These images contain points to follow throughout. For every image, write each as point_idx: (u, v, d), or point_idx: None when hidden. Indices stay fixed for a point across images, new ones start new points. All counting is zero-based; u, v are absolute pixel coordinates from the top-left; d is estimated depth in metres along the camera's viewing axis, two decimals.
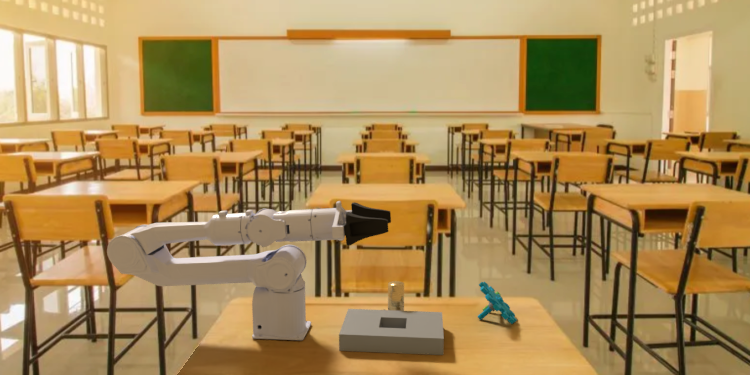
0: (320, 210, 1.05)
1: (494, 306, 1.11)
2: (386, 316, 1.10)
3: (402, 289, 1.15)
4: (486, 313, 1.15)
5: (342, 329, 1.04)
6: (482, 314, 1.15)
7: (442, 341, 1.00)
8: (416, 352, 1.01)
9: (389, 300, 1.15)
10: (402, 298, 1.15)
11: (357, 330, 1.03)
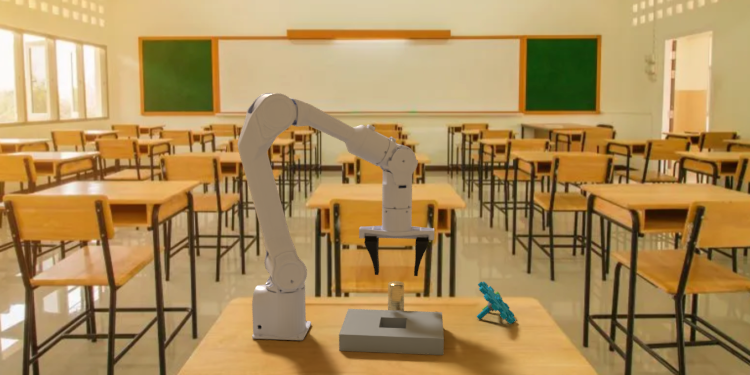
0: None
1: (492, 306, 1.11)
2: (386, 316, 1.10)
3: (402, 289, 1.15)
4: (485, 313, 1.15)
5: (342, 329, 1.04)
6: (481, 314, 1.16)
7: (442, 341, 1.00)
8: (416, 352, 1.01)
9: (389, 300, 1.15)
10: (402, 298, 1.15)
11: (357, 330, 1.03)
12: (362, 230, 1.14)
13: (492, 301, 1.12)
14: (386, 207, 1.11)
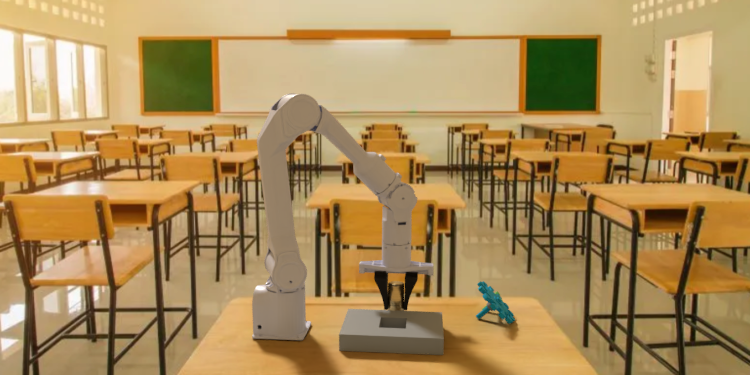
0: None
1: (491, 306, 1.11)
2: (386, 316, 1.10)
3: (402, 289, 1.15)
4: (484, 313, 1.15)
5: (342, 329, 1.04)
6: (480, 313, 1.16)
7: (442, 341, 1.00)
8: (416, 352, 1.01)
9: (389, 300, 1.15)
10: (402, 298, 1.15)
11: (357, 330, 1.03)
12: (362, 265, 1.15)
13: (491, 301, 1.12)
14: (386, 243, 1.12)
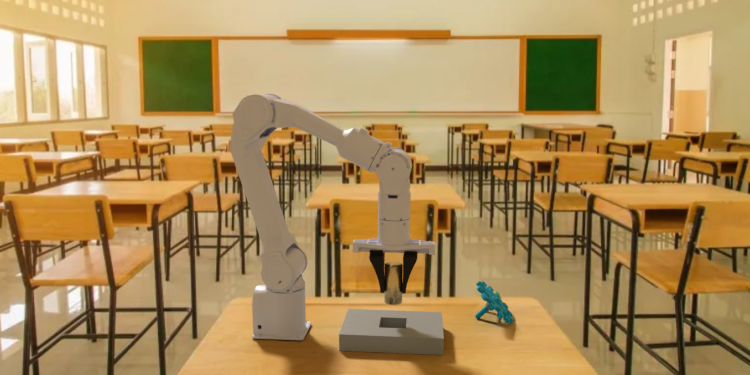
0: None
1: (489, 305, 1.11)
2: (386, 316, 1.10)
3: (400, 270, 1.04)
4: (483, 312, 1.16)
5: (342, 329, 1.04)
6: (479, 313, 1.16)
7: (442, 341, 1.00)
8: (416, 352, 1.01)
9: (386, 282, 1.05)
10: (400, 280, 1.05)
11: (357, 330, 1.03)
12: (356, 244, 1.04)
13: (489, 300, 1.13)
14: (382, 219, 1.02)
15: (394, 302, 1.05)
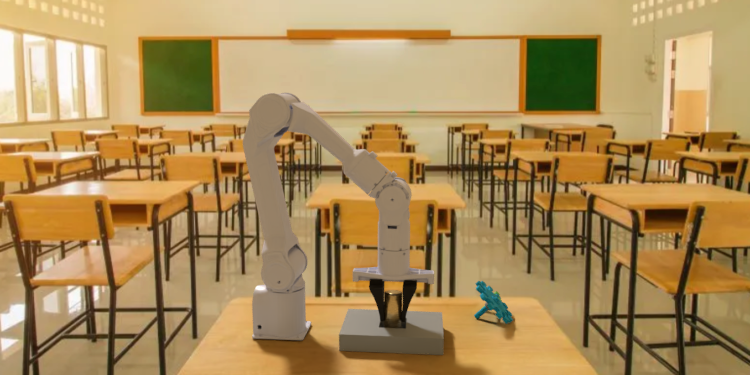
0: None
1: (488, 305, 1.11)
2: None
3: (400, 299, 1.05)
4: (482, 312, 1.16)
5: (342, 329, 1.04)
6: (478, 313, 1.16)
7: (442, 341, 1.00)
8: (416, 352, 1.01)
9: (385, 311, 1.05)
10: (400, 309, 1.05)
11: (357, 330, 1.03)
12: (356, 273, 1.05)
13: (488, 300, 1.13)
14: (382, 249, 1.02)
15: None
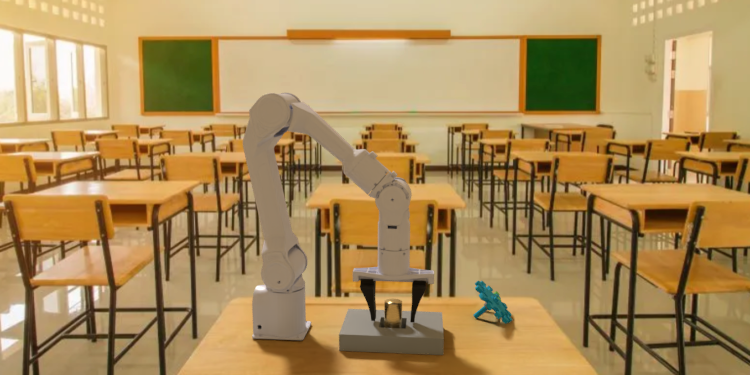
0: None
1: (487, 305, 1.11)
2: None
3: (400, 308, 1.05)
4: (481, 312, 1.16)
5: (342, 329, 1.04)
6: (478, 313, 1.16)
7: (442, 341, 1.00)
8: (416, 352, 1.01)
9: (386, 320, 1.06)
10: (400, 317, 1.05)
11: (357, 330, 1.03)
12: (356, 273, 1.05)
13: (487, 300, 1.13)
14: (382, 249, 1.02)
15: None
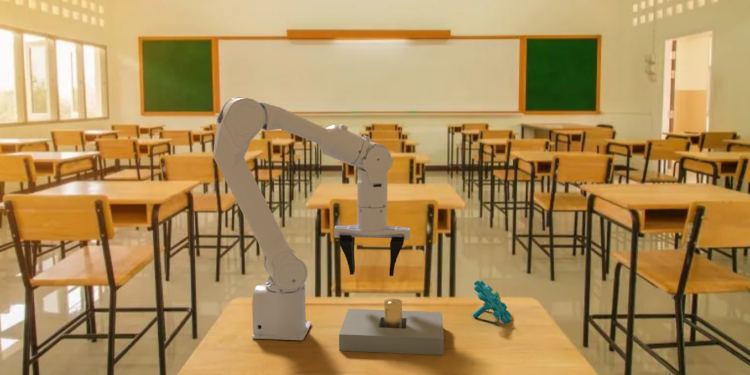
0: None
1: (485, 305, 1.11)
2: None
3: (400, 308, 1.05)
4: (481, 312, 1.16)
5: (342, 329, 1.04)
6: (477, 312, 1.16)
7: (442, 341, 1.00)
8: (416, 352, 1.01)
9: (386, 320, 1.06)
10: (400, 317, 1.05)
11: (357, 330, 1.03)
12: (337, 229, 1.12)
13: (486, 300, 1.13)
14: (361, 206, 1.10)
15: None
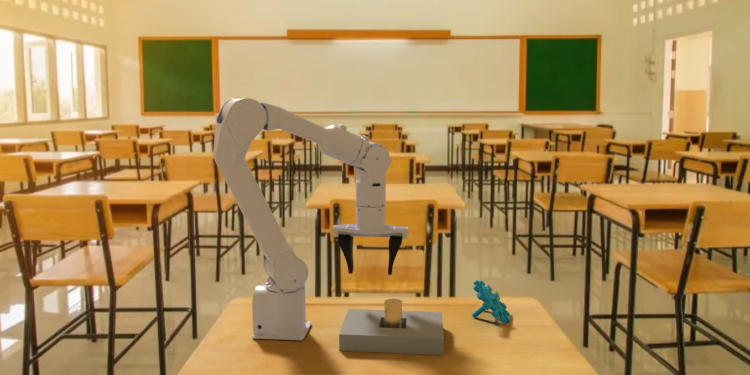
0: None
1: (484, 304, 1.11)
2: None
3: (400, 308, 1.05)
4: (480, 311, 1.16)
5: (342, 329, 1.04)
6: (476, 312, 1.16)
7: (442, 341, 1.00)
8: (416, 352, 1.01)
9: (385, 320, 1.06)
10: (400, 317, 1.05)
11: (357, 330, 1.03)
12: (336, 228, 1.13)
13: (485, 300, 1.13)
14: (359, 205, 1.11)
15: None
